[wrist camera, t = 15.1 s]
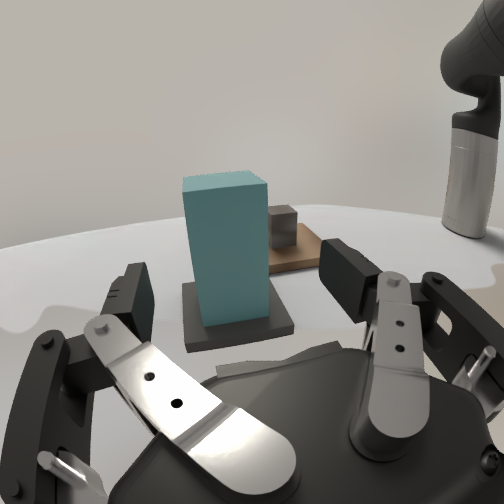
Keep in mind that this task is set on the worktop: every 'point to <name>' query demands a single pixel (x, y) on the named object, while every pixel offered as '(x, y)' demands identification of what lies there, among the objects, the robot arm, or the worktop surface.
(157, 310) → the worktop surface
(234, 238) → the teal block
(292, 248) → the walnut base
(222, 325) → the coaster mat
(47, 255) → the worktop surface
